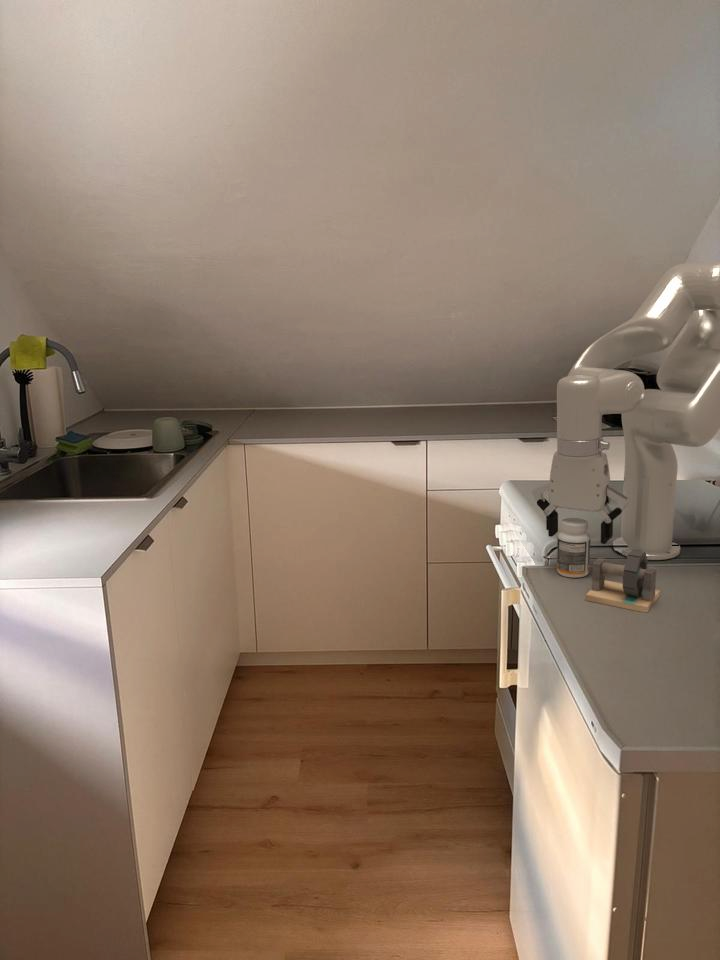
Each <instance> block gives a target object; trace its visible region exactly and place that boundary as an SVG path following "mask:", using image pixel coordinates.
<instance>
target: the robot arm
mask: <svg viewBox="0 0 720 960" xmlns="http://www.w3.org/2000/svg"><path fill="white" fill-rule="evenodd" d="M686 324H687V325H686ZM685 326H686V327H685ZM684 327H685V329H684V330H683V328H684ZM682 330H683V333H682V335H681V336H680V337H679V339H678V340H677V341H676V343H675V345H674V346H673V348H671V350H670V352H669V353H668V354H667V356H666V357H665V359H664V360H663V362H662V363H661V364H660V367H659V369H658V371H657V374H656V384H657V386H658V388H659V389H655V388H646V389H645V385H644V382H643V380H642V378H641V377H640V376H638V375H637V374H635V373H634V372H631V371H628V370H623V369H622V370H621V369H615V368H617V367H618V366H621V365H622V364H624V363H627V362H630V361H633V360H636V359H639V358H642V357H646V356H650V355H652V354H655V353H659V352H661V351H664V350H666V349H668V348H669V347H670V346H671V345H672V344H673V343H674V341H675V340H676V338H677V337H678V336H679V334H680V332H681V331H682ZM612 414H613V415H614V414H615V415H616V414H618V415H619V414H620V415H621V425H622V432H623V437H624V471H623V490H622V493H621V492H619V491H617V490H615V489H614V488H613V487H612V486H611V475H610V466H609V462H608V455H607V453H606V452H603V451H604V450H609V449H610V446H611V445H610V442H609V441H606V440H604V437H603V436H602V435H603V433H602V432H603V431H602V429H603V428H602V427H603V426H602V424H603V423H602V422H603V421H602V418H603V417H602V416H603V415H612ZM719 430H720V261H705V262H685V263H679V264H676V265H674V266H671V267H670V268H669V269H668V270H666V271H665V272H664V274H663V275H662V276H661V277H660V279H659V280H658V282H657V283H656V285H655V286H654V287H653V288H652V290H651V291H650V293H649V294H648V295H647V297H646V298H645V299H644V301H643V302H642V304H641V305H640V306H639V308H638V310H636V312H635V314H633V316H631V318H630V319H628V320H627V321H625V322H623V323H622V324H620V325H618V326H616V327H615V328H613V329H612V330H610V331H609V332H607V333H606V334H604V335H602V336H601V337H599V338H597V339H596V340H594V341H593V342H592V343H591V344H590V345H589V346H588V347H587V348H586V349H585V350H584V351H583V352H582V353H581V355H580V356H579V357H578V359H577V361H576V362H575V363H574V364H573V365H572V367H571V369H570V371H569V372H568V374H567V376H564V377H562V378H560V379H559V380H558V382H557V385H556V451H555V452H554V453H553V456H552V459H551V460H552V461H551V468H550V472H549V473H550V474H549V482H547V483H545V484H542V485H540V486H537V487H535V488H533V489H532V490H531V494H532V496H533V498H534V500H535V501H536V504H537V506H538V507H539V508H540V510H542V511H543V514H544V516H545V518H546V519H545V520H546V521H545V523H546V527H545V529H546V531H547V532H548V533H547V534H548V537H550V538H551V537H554V536H555V535H556V534H557V533H558V532H559V512H558V511H556V510H557V508H560V509H569V510H576V511H585V512H596V513H597V514H598V515H599V517H600V518H601V520H602V522H601V523H600V543H601V544H602V545H606V544H607V543H608V542H609V541H610V539H612V538H613V534H614V531H613V530H614V528H613V527H614V521H615V519H616V518H618V517H619V516H620V515H621V528H620V536H621V537H622V538H623V540H624V541H625V542H626V544H627V546H628V548H629V549H625V550H624V549H623V550H622V555H621V556H625V557H627V556H628V554H629V553H630V552H631V551H632V550H636V551H642V552H645V553H646V556H647V560H648V561H663V560H669V559H670V560H671V559H674V558H675V557H678V556H679V555H680V553H681V546H680V545H679V546H672V541H673V536H674V535H673V534H674V525H675V524H674V521H675V508H676V495H677V494H676V493H677V481H678V469H679V468H678V459H677V455H676V452H675V449H674V447H673V445H675V446H683V447H689V448H690V447H692V448H697V447H699V448H700V447H702V446H704V445H707V444H708V443H710V442H711V441H712V440H713V439H714V437H715V436H716V435H717V433H718V432H719ZM546 492H548V500H547V499H546V498H545V497H544V493H546ZM611 500H613V501H615V502H616V503H617V504H616V507H615V508H614V509H612V508H611V507H610V506H609V504H610V503H611Z"/></svg>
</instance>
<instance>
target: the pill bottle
mask: <svg viewBox="0 0 720 960" xmlns="http://www.w3.org/2000/svg"><path fill="white" fill-rule="evenodd" d="M560 527H561V531H560V532H559V533H558V534H557V545H556V546H557V548H556V549H557V550H556V552H557V553H556V572H557V573H558V574H559V575H560V576H563V577H566V578H574V579H575V578H584V577H587V575H588V574H589V573H590V572H589V571H590V556H591V555H590V553H591V536H590V534H589V533H588V532H587V531H588V529H589V522H588V520H586V519H583V518H578V517H566V518H563V519H562V520H561V522H560Z"/></svg>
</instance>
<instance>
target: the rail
mask: <svg viewBox="0 0 720 960" xmlns="http://www.w3.org/2000/svg"><path fill="white" fill-rule="evenodd" d="M624 567H625V565H621V564H617V563H610V562H606V558H600V557H598V558H597V559H596V560H595V561H593V563H592V571H591V572H592V575H591V578H592V579H591V589H590V590H589V591H588V592H587V593H586V594H585V597H584V598H585V600H584V601H586V602H587V601H588V602H592V603H597V604H602V605H606V606H611V607H616V608H620V609H625V610H631V611H636V612H641V613H646V614H648V612H649V611H650V609H651V608H652V607H653V605H654V604H655V603H656V602H657V600H658V599H659V597H660V596H661V595H660V594H661V590H660V589H659V590H658V589H656V588H657V587H656V585H657V569H658V567H654V566H647V570H646V569H642V568H641V567H639V570H638V576H637V580H638V581H640V580H644V586H643V590H642V593H641V594H640V595H639V596H638V597H636V596H631V595H626V594H625V592H624V590H623V582H618V581H617V582H616V581H611V580H605V575H606V574H607V575H613V576H618V577H622V578H623V571H624Z"/></svg>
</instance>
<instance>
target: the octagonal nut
mask: <svg viewBox="0 0 720 960" xmlns="http://www.w3.org/2000/svg"><path fill="white" fill-rule="evenodd" d="M648 561H649V560H647V556H646V553H645V552H642V551H636V550H632V551H631V552H630V553H629V554H628V556H626V560H625V564H624V566H625V567H624V571H623V577H622V583H623V590H624V592H625V594H626V595H631V596H636V597H638V596H639V595H640V594H641V593H642V590H643V586H644V580H640V581H638V580H637V576H638V570H639V567H641V568H642V569H646V570H647V569H648Z"/></svg>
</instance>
